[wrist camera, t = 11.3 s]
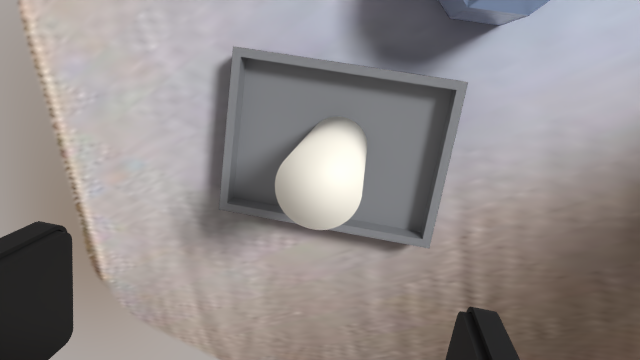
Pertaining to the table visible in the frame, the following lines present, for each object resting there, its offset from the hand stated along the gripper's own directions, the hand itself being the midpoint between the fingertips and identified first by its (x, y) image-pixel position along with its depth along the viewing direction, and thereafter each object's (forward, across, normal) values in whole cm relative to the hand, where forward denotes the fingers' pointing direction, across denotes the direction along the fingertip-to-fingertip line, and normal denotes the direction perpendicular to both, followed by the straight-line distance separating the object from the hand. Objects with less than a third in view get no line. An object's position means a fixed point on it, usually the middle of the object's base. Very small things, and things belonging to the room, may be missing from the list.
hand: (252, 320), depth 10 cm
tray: (+24, 0, 0) cm, 24 cm away
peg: (+23, 0, 0) cm, 23 cm away
